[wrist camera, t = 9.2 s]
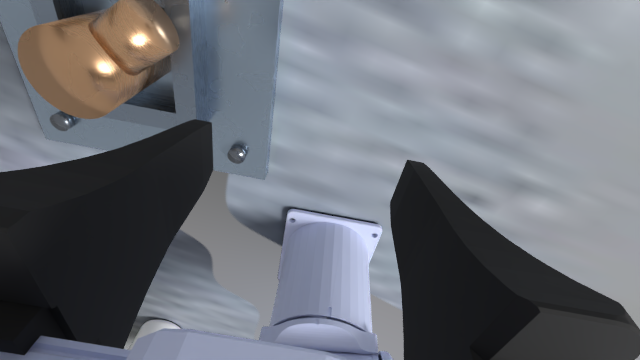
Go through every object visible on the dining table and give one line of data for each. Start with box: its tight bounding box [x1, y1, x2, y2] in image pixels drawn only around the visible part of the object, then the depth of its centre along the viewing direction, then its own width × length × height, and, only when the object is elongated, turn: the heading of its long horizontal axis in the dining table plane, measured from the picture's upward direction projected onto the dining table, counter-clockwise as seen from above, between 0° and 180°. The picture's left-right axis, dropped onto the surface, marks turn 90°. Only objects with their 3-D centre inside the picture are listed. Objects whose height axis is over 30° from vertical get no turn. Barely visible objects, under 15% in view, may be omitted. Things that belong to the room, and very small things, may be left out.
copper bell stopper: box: [18, 0, 179, 119], centre depth 16 cm, size 6×4×6 cm, turn 117°
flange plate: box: [0, 0, 283, 180], centre depth 18 cm, size 16×16×3 cm
